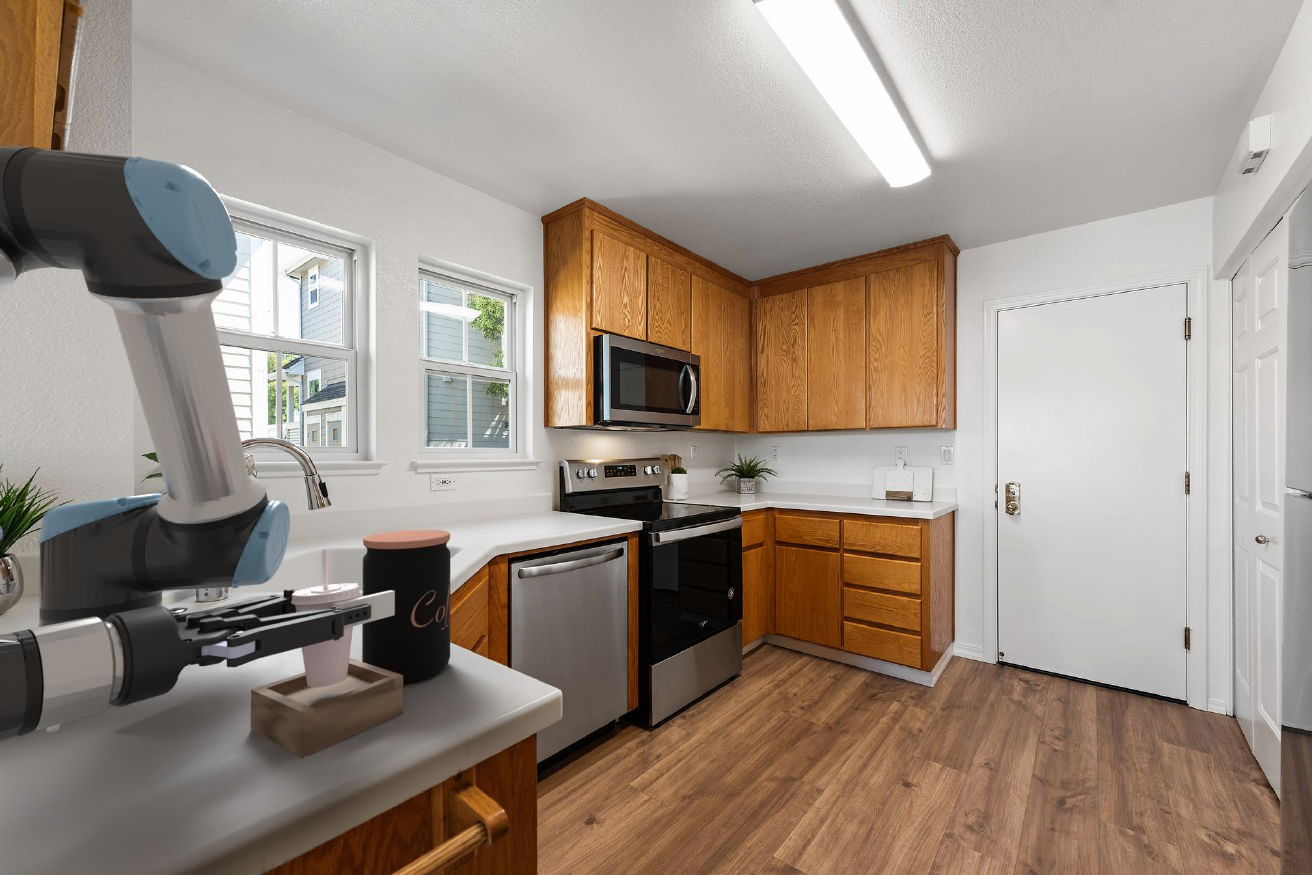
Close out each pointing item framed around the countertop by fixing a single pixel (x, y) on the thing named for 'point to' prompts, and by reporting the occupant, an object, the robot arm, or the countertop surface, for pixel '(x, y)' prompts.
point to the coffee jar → (409, 603)
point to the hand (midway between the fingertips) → (373, 598)
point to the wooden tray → (325, 708)
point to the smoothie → (329, 657)
